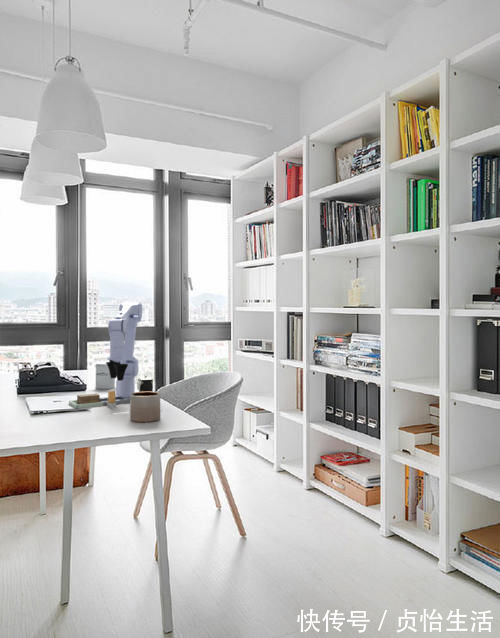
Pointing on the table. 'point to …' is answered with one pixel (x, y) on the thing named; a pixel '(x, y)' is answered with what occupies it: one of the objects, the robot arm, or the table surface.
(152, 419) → the planter
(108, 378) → the supplement box
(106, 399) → the slot bed
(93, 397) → the chip
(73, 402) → the tray
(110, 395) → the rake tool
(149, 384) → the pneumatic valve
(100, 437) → the table surface
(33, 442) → the table surface
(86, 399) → the chip
